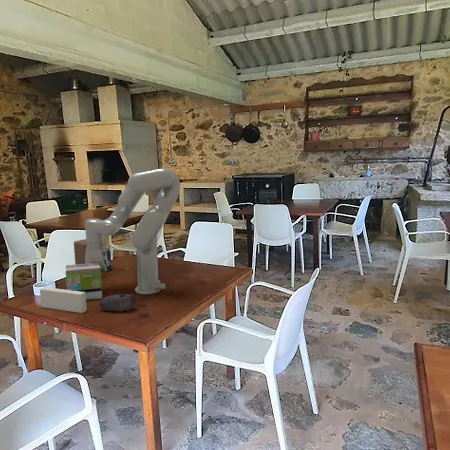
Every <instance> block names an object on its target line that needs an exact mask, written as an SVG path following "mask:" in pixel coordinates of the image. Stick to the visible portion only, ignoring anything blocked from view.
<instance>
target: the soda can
mask: <svg viewBox="0 0 450 450" xmlns="http://www.w3.org/2000/svg"><path fill="white" fill-rule="evenodd" d="M105 249H106V253H107V258H108V267H106V268H107V271H106V272H109V271H111V269H112V258H111V257H112V255H111V253H112V252H111V250H110V248H109V247H108V248H107V247H105Z"/></svg>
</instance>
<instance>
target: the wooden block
mask: <svg viewBox="0 0 450 450" xmlns="http://www.w3.org/2000/svg"><path fill="white" fill-rule="evenodd" d="M86 248H87V243H86V238H84V239H79V240H75V241H73V249H74V265H76V264H85V251H86ZM101 277H103V272H102V273H101Z"/></svg>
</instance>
